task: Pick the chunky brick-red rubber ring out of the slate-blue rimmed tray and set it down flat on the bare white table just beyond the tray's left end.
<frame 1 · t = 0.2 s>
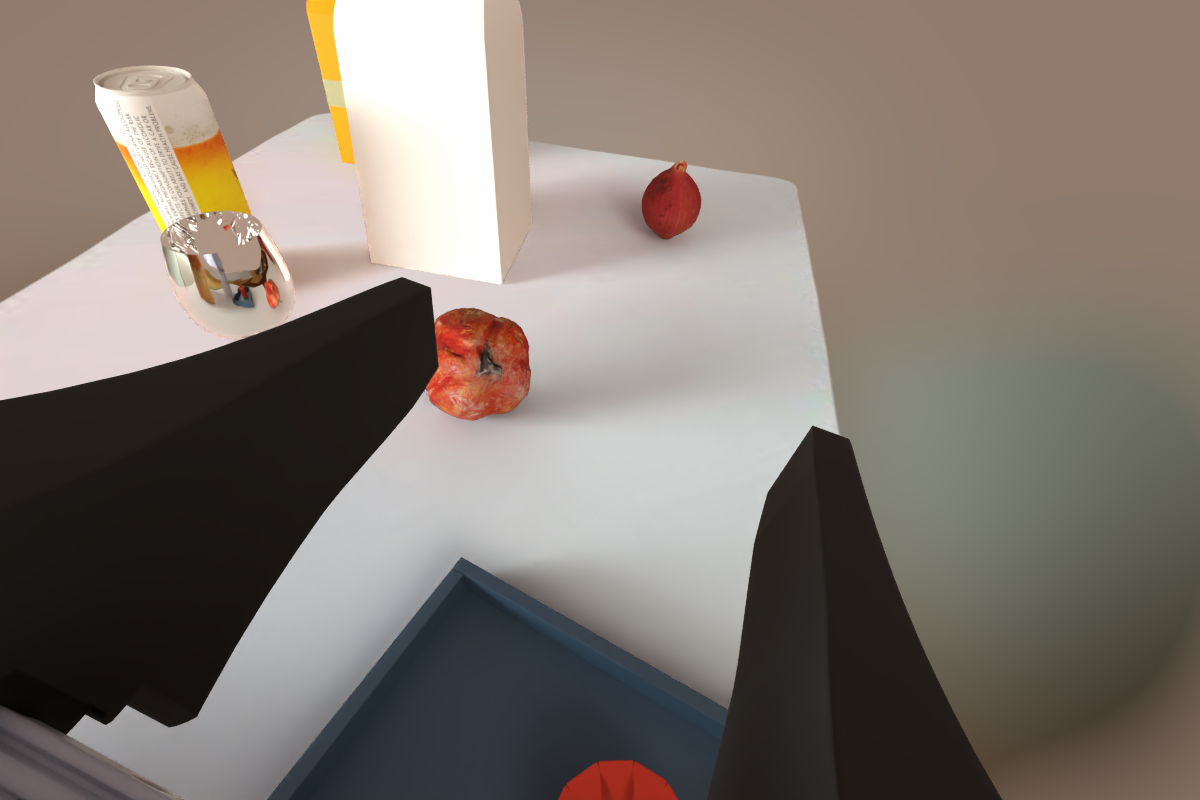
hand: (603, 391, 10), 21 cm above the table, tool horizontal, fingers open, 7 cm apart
milk: (457, 243, 53), on the table
wineglass: (284, 395, 38), on the table
pomegranate: (477, 401, 39), on the table
orange juice: (391, 155, 66), on the table
beer can: (233, 280, 46), on the table
onion: (664, 239, 58), on the table
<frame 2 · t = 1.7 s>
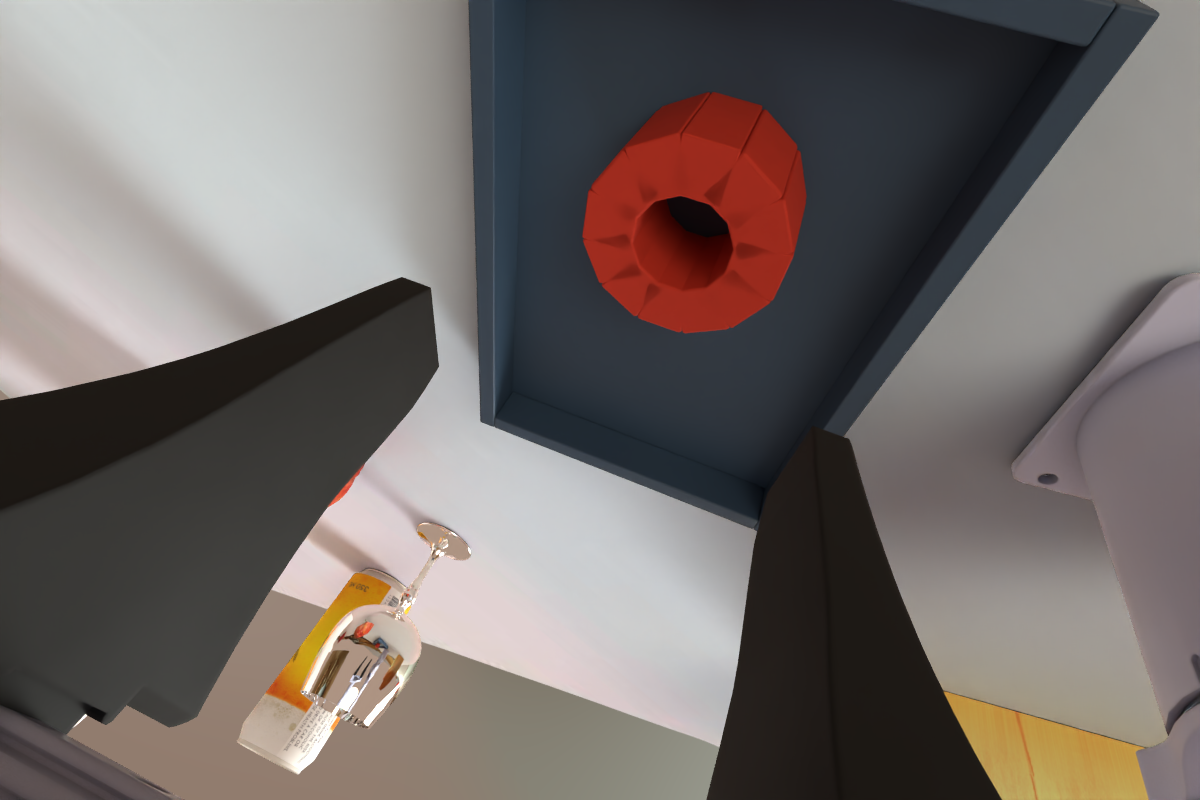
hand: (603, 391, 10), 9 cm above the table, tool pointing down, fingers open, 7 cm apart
tray: (685, 273, 19), on the table
wineglass: (445, 539, 41), on the table
ring: (708, 194, 16), resting on tray
bread: (1072, 772, 31), on the table
beer can: (388, 582, 52), on the table
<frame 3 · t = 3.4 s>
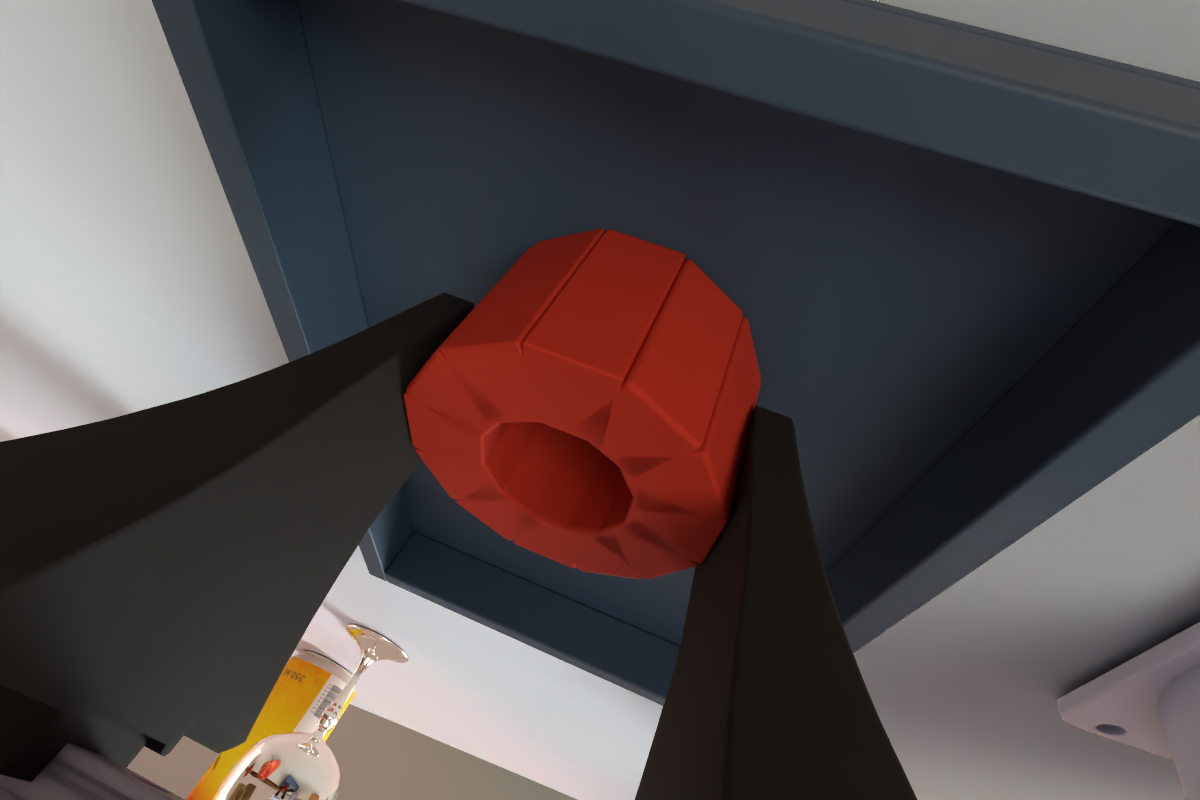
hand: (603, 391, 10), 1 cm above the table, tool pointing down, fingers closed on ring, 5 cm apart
tray: (604, 437, 13), on the table
wineglass: (379, 640, 35), on the table
ring: (619, 358, 11), resting on tray, touching gripper
beer can: (331, 663, 47), on the table
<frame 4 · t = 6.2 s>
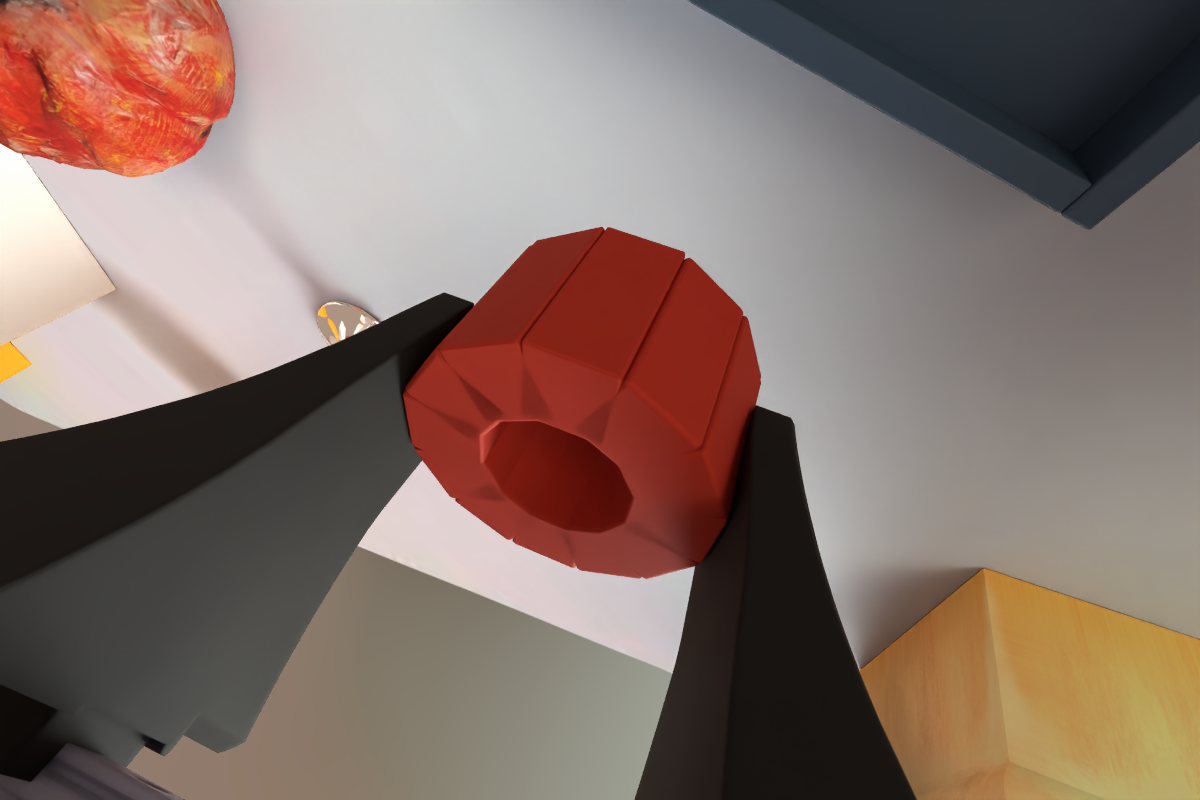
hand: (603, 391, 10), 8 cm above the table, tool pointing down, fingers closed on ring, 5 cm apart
wineglass: (362, 338, 26), on the table
ring: (619, 357, 11), point 7 cm above the table, touching gripper
pomegranate: (185, 9, 18), on the table
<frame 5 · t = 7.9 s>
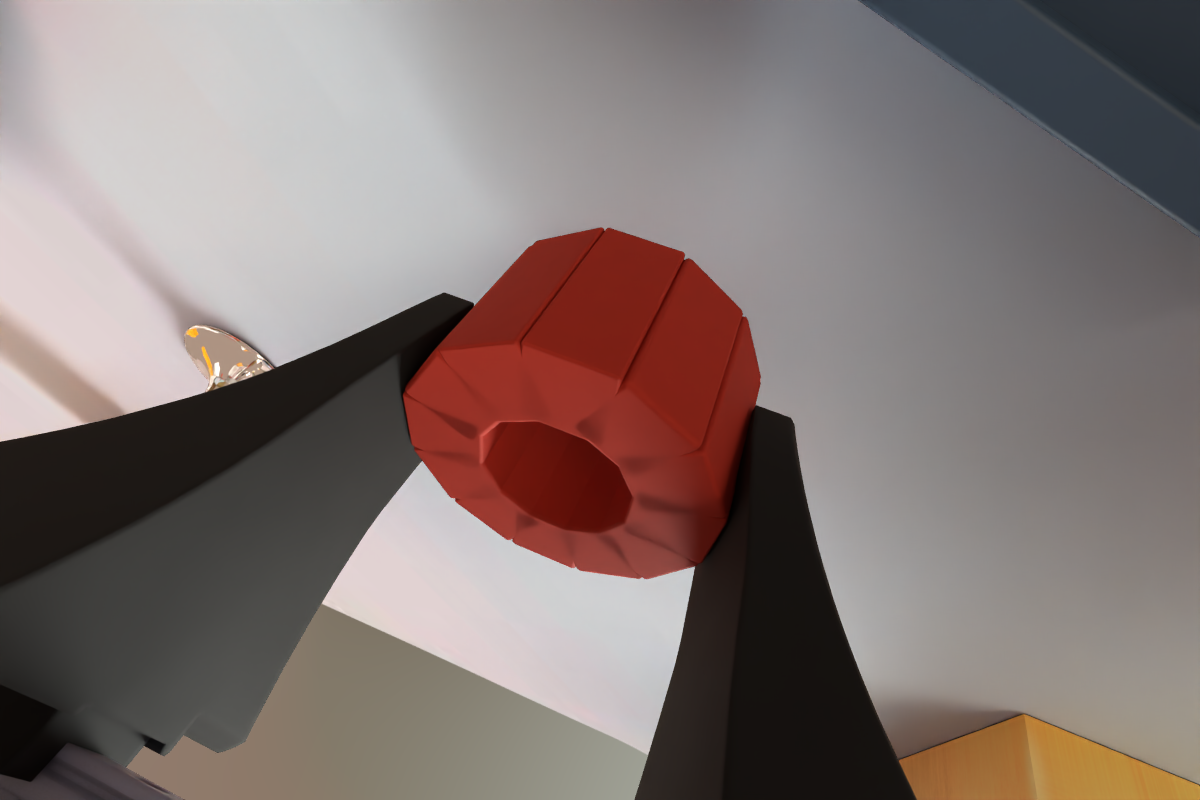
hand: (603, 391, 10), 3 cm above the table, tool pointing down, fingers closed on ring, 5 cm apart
wineglass: (246, 371, 20), on the table
ring: (619, 357, 11), point 2 cm above the table, touching gripper
when the fingers open (1 cm above the table, at t = 9.0 s): ring stays where it is, on the table.
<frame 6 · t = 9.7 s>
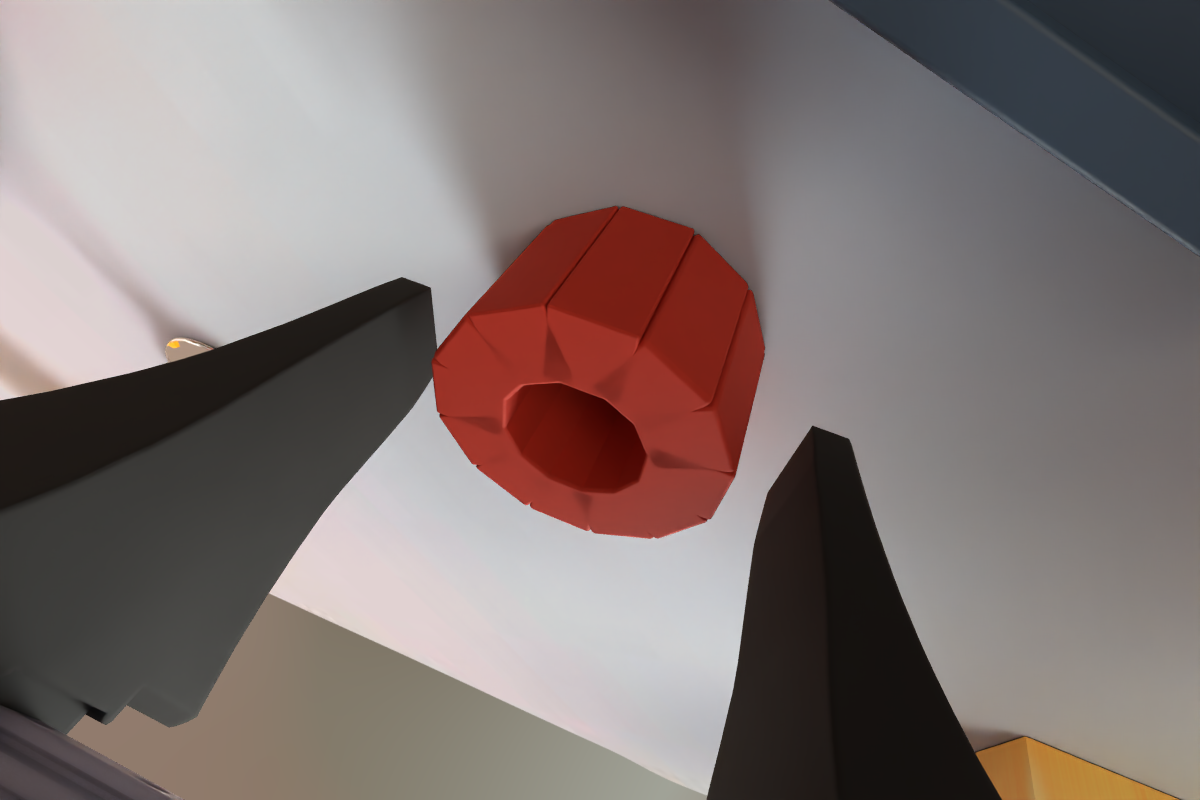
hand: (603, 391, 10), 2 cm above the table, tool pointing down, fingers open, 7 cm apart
wineglass: (229, 384, 20), on the table
ring: (630, 332, 11), on the table
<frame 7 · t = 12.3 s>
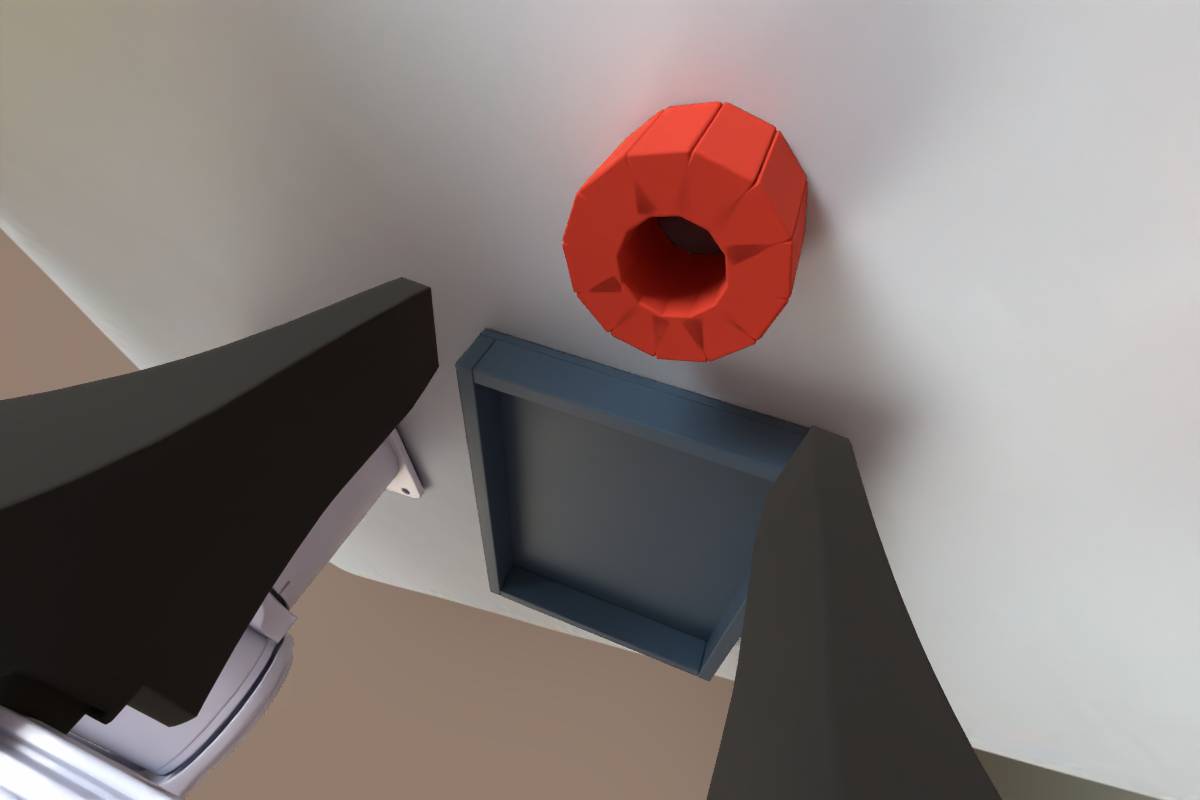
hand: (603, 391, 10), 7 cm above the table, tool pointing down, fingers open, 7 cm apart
tray: (625, 517, 26), on the table
ring: (701, 210, 15), on the table
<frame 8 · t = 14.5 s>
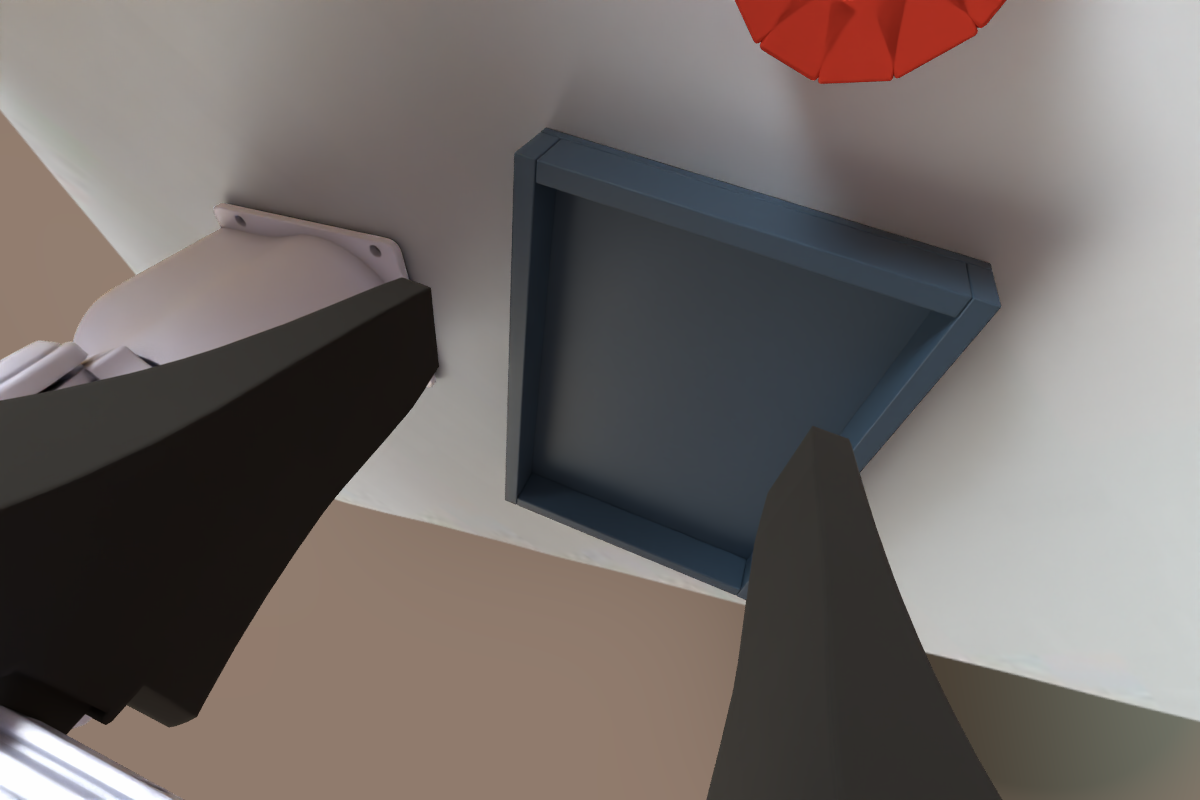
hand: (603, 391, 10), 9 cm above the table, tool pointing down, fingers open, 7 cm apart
tray: (678, 400, 23), on the table
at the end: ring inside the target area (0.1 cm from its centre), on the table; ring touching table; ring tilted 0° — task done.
